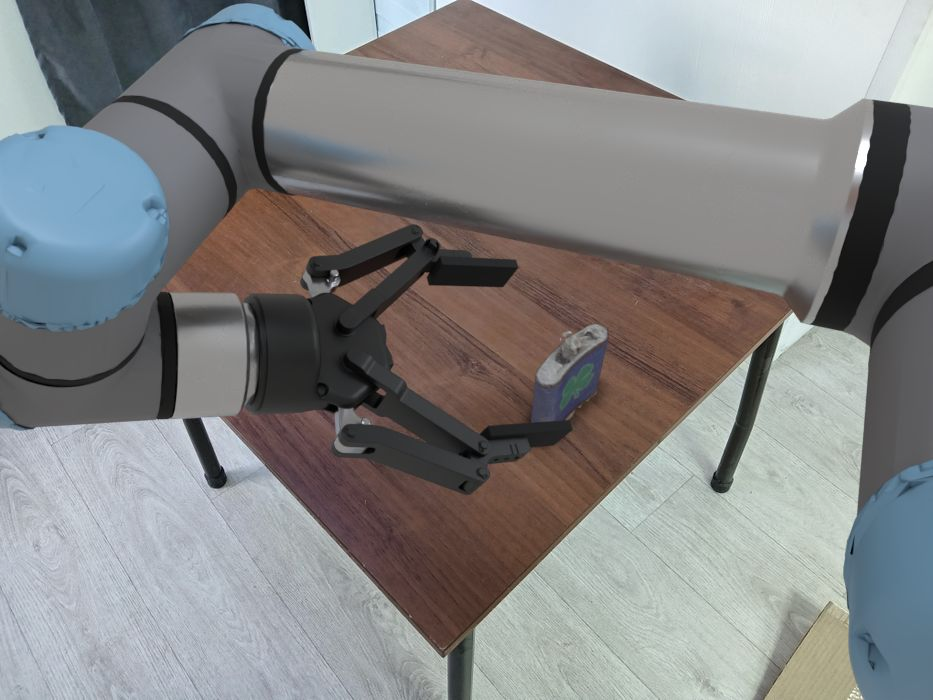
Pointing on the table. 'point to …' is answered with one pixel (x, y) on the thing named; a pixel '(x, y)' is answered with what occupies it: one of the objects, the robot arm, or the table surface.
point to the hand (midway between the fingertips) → (534, 349)
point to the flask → (569, 374)
